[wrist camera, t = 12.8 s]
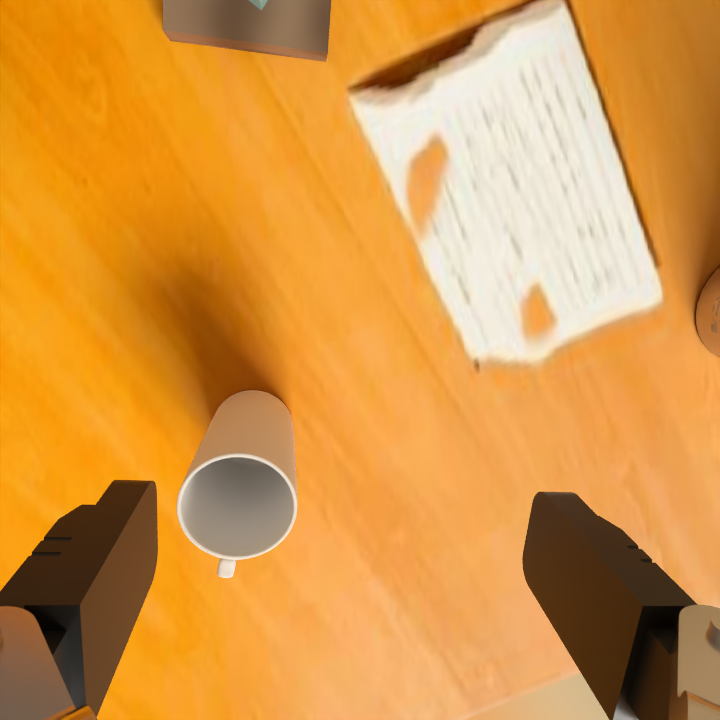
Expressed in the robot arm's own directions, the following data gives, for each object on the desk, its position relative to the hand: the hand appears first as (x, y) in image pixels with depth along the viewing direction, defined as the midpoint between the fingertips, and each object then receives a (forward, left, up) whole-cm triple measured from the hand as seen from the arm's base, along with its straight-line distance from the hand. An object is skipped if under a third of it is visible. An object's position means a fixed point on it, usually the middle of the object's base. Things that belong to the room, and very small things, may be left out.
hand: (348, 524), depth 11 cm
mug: (+4, +12, -30) cm, 32 cm away
